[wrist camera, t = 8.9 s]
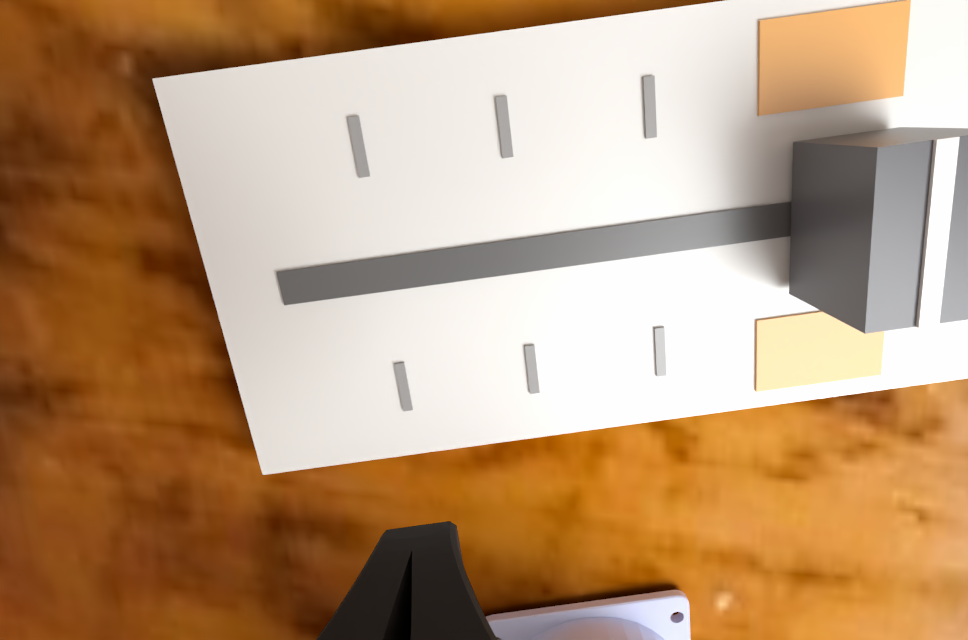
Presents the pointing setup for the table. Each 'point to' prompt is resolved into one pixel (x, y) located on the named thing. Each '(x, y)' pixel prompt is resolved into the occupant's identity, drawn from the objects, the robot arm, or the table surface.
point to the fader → (882, 227)
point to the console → (546, 222)
